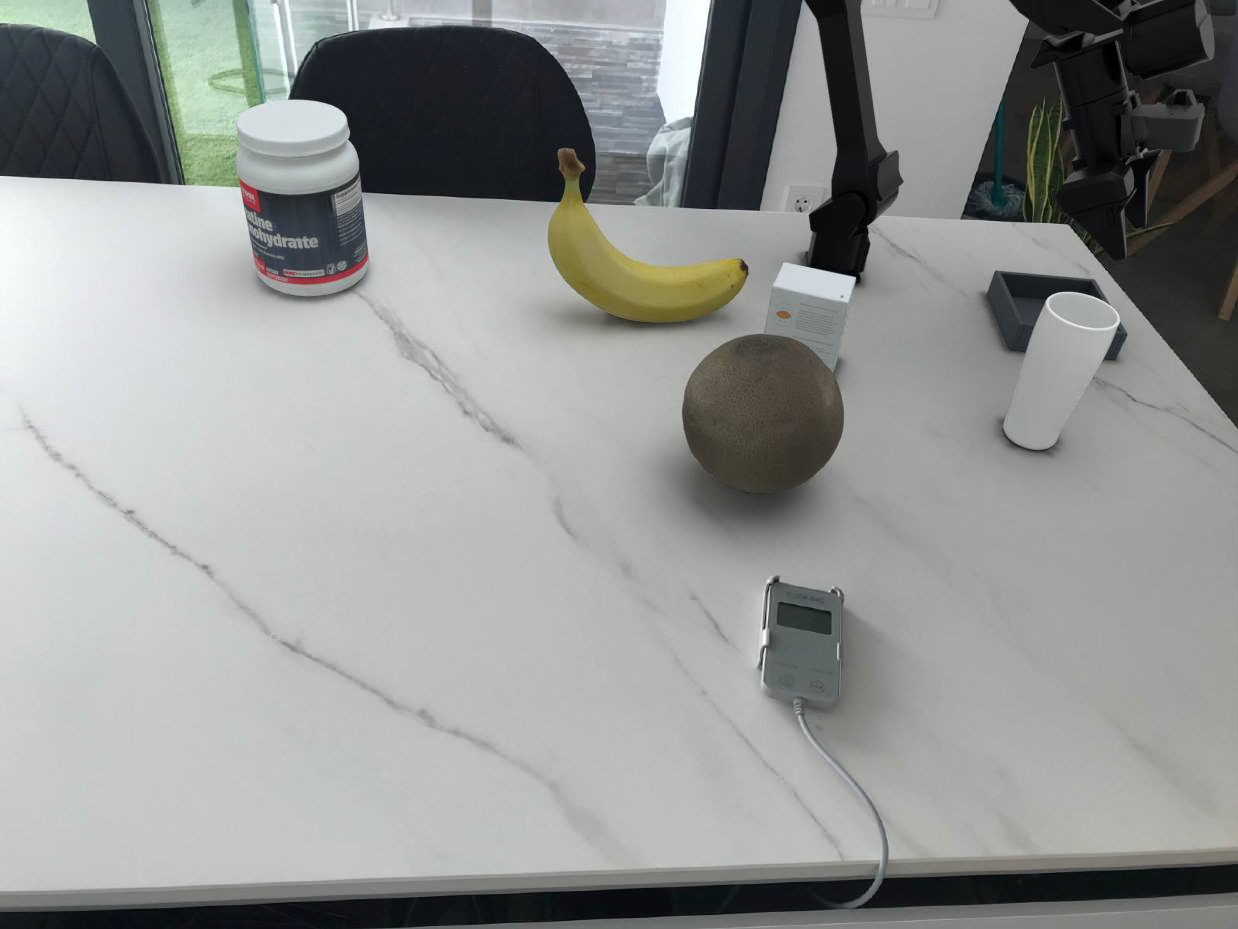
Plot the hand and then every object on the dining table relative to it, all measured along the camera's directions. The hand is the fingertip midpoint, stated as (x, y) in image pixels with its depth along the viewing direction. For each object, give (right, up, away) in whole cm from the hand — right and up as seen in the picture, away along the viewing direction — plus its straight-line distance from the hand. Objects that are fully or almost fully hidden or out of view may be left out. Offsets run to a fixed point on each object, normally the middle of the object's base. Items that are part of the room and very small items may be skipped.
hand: (1130, 243), depth 102 cm
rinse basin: (-2, -7, +15) cm, 16 cm away
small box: (-34, -12, +5) cm, 36 cm away
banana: (-50, -6, +11) cm, 52 cm away
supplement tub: (-89, -1, +13) cm, 90 cm away
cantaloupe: (-41, -25, -10) cm, 49 cm away
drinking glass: (-11, -20, -2) cm, 23 cm away
